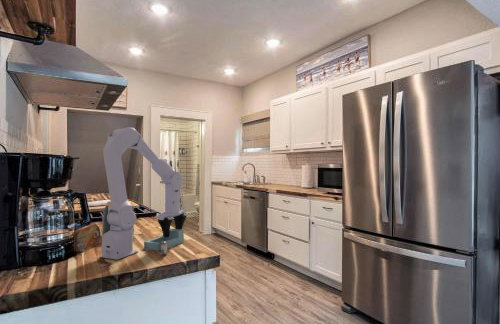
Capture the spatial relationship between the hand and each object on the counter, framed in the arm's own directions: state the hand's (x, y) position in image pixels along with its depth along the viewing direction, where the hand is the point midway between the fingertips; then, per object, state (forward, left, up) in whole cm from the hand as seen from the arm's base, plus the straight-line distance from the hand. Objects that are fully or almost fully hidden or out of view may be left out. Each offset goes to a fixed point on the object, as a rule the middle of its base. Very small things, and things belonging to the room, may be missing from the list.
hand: (172, 234), depth 116 cm
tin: (-20, +24, -3) cm, 31 cm away
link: (-5, 0, -3) cm, 6 cm away
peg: (-15, -8, -3) cm, 18 cm away
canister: (0, +30, -3) cm, 30 cm away
